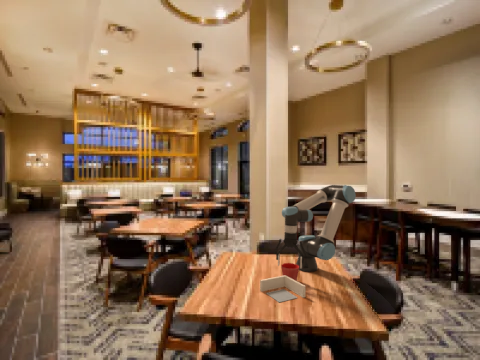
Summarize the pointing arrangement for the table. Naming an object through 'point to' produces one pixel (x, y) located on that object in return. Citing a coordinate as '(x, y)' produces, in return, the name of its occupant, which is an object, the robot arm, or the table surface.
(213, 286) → the table surface
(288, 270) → the flower pot
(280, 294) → the pad
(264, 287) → the corner wall
